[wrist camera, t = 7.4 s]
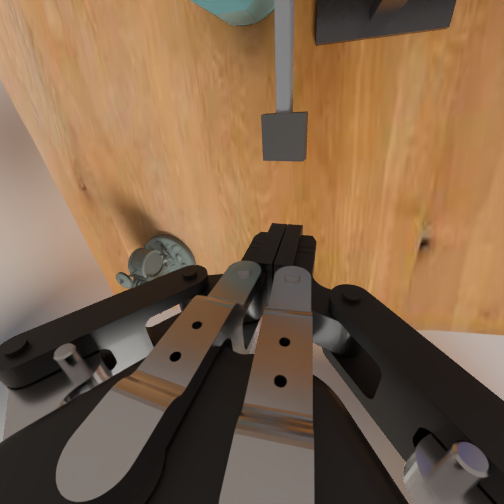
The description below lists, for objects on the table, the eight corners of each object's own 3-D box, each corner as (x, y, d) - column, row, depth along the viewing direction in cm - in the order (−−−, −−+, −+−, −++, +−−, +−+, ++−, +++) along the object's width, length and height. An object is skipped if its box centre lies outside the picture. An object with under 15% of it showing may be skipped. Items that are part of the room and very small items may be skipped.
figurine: (154, 276, 54) (116, 318, 44) (139, 232, 48) (91, 268, 38) (200, 282, 51) (169, 328, 41) (190, 236, 45) (151, 276, 35)
